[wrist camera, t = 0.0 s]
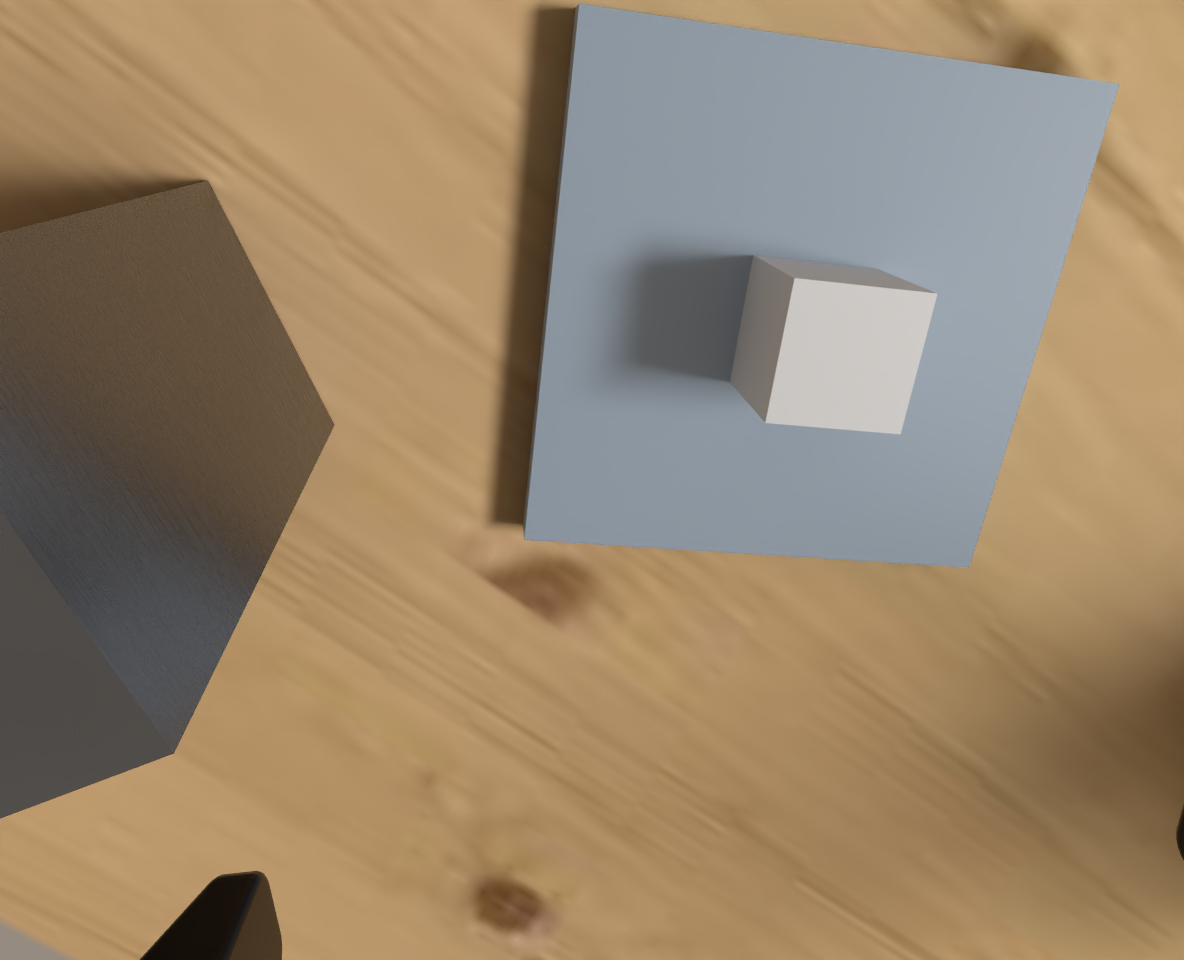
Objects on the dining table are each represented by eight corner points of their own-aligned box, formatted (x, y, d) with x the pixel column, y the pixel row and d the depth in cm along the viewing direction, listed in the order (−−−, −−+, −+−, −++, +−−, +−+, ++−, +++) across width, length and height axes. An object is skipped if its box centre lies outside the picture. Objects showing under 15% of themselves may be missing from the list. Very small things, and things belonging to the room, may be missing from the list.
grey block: (334, 424, 22) (173, 753, 11) (107, 512, 22) (-280, 923, 11) (207, 180, 19) (-168, 274, 8) (-45, 281, 20) (-739, 505, 8)
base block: (943, 542, 25) (1031, 626, 21) (522, 515, 24) (529, 600, 20) (1078, 85, 21) (1222, 79, 17) (573, 11, 19) (595, -16, 15)
